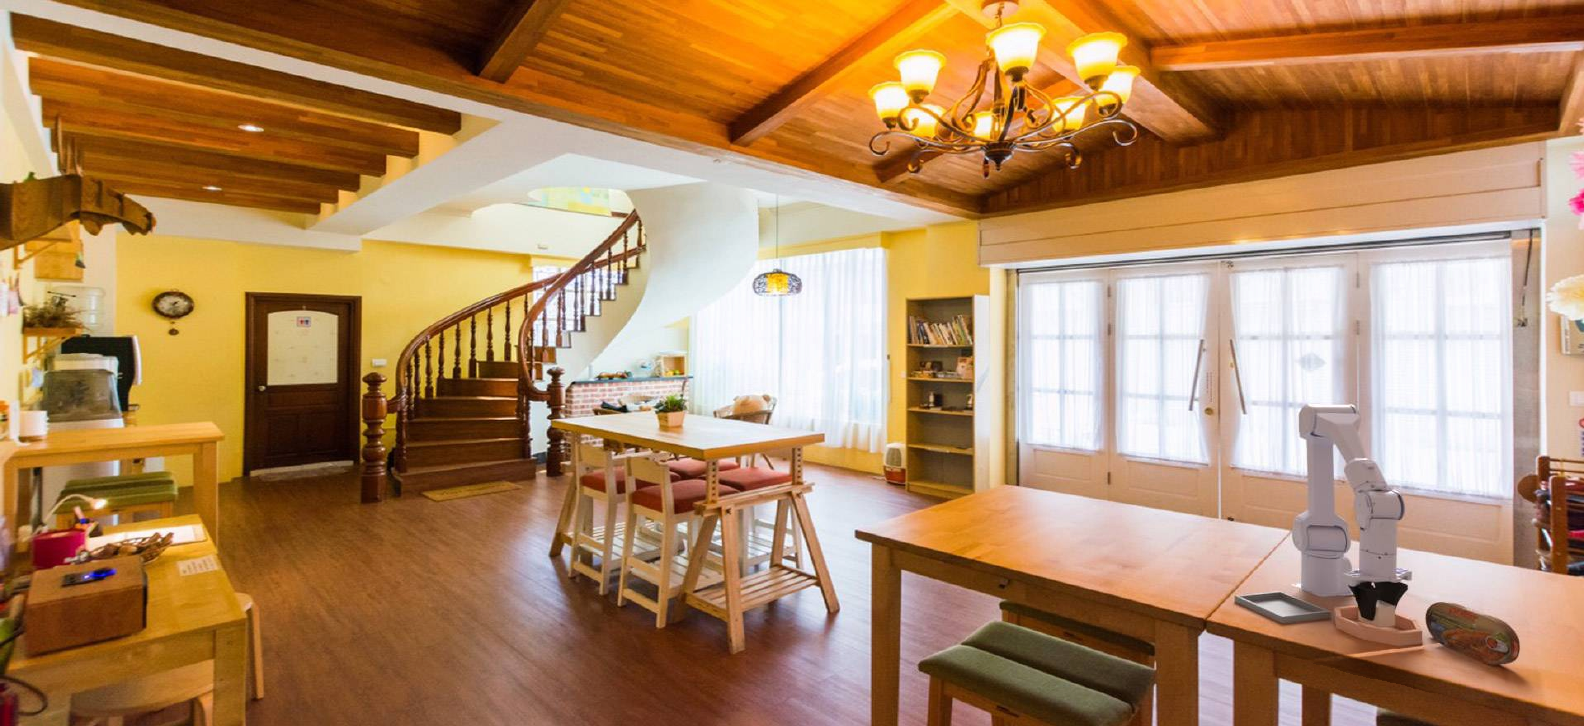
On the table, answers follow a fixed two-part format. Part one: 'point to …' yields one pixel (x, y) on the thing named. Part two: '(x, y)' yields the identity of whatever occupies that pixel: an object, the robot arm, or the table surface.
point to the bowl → (1397, 635)
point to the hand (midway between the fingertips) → (1376, 617)
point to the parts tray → (1282, 607)
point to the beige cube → (1381, 615)
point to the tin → (1473, 633)
